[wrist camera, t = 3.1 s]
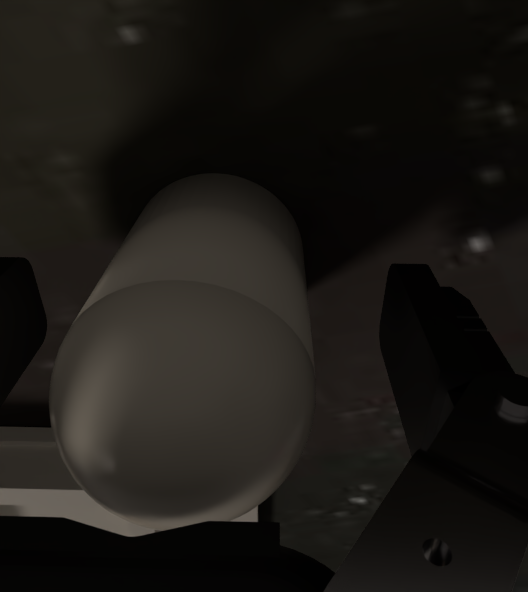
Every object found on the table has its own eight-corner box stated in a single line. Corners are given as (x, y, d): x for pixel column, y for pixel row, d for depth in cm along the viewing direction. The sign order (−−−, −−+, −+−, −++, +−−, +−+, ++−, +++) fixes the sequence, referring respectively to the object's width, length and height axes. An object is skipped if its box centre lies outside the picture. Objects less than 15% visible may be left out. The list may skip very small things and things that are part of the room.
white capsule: (307, 173, 11) (341, 384, 5) (299, 326, 14) (316, 593, 8) (121, 172, 11) (-57, 377, 5) (144, 323, 14) (40, 586, 8)
